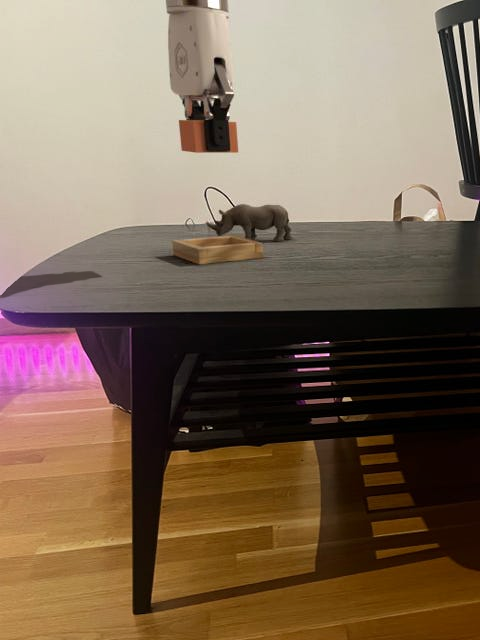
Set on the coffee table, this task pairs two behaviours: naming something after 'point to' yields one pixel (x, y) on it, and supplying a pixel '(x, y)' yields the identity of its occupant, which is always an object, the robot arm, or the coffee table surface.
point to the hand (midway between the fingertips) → (209, 148)
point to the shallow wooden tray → (217, 249)
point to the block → (202, 137)
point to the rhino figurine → (254, 220)
